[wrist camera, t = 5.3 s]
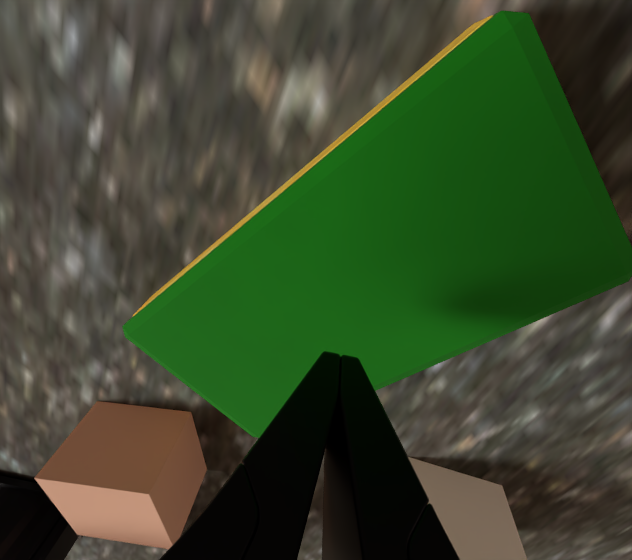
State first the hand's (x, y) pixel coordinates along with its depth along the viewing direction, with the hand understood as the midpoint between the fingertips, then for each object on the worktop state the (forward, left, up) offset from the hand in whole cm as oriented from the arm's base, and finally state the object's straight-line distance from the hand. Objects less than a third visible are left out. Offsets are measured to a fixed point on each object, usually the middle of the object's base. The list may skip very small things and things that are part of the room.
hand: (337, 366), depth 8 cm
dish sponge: (0, 0, -5) cm, 5 cm away
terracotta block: (-8, -12, -4) cm, 15 cm away
